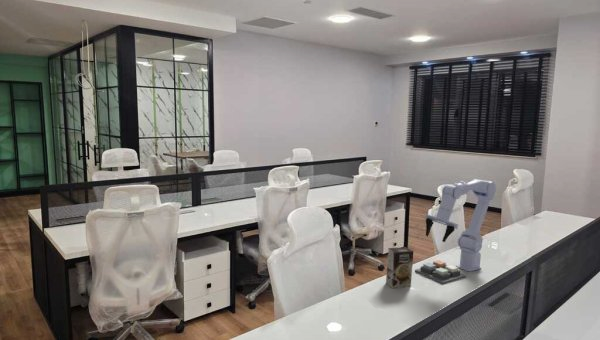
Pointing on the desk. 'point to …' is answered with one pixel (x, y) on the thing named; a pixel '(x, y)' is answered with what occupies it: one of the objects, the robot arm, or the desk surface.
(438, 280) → the keypad
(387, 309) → the desk surface
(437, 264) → the terracotta key
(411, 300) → the desk surface
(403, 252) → the coffee box
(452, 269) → the cream key
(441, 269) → the sage key
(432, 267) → the slate key
